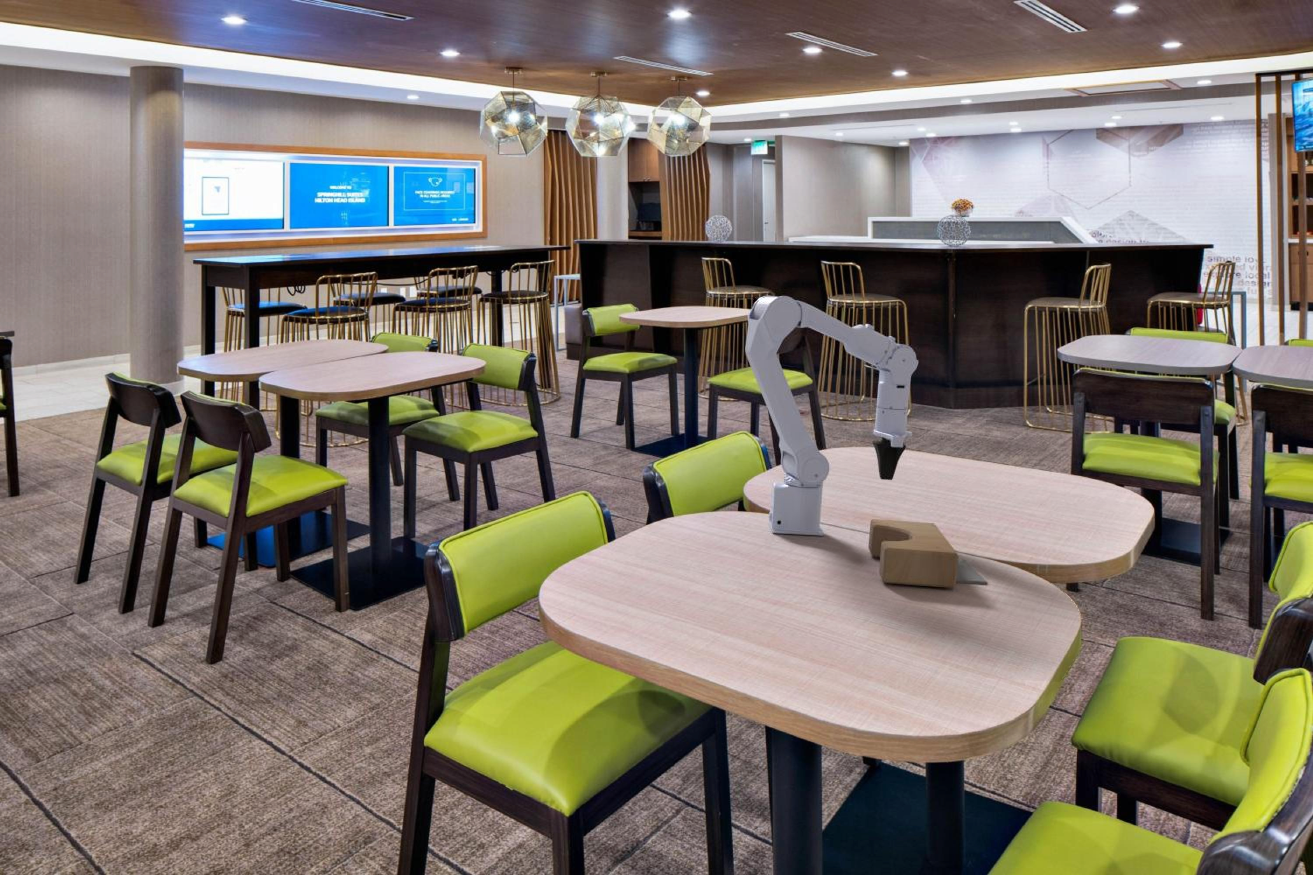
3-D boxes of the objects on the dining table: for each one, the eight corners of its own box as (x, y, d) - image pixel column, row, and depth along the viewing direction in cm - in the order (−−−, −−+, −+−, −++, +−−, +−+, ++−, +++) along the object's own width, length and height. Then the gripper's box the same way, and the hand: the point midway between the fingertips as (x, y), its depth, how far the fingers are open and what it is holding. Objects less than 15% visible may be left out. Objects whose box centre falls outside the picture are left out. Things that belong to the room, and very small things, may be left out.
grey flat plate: (896, 578, 148) (896, 576, 148) (881, 558, 160) (881, 555, 160) (986, 584, 148) (986, 581, 148) (964, 562, 160) (965, 560, 160)
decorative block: (867, 549, 164) (881, 582, 144) (870, 517, 163) (885, 546, 143) (932, 555, 163) (955, 590, 143) (936, 523, 162) (960, 553, 142)
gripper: (922, 413, 169) (916, 487, 171) (905, 404, 184) (899, 473, 186) (883, 411, 170) (877, 485, 172) (868, 402, 184) (863, 471, 186)
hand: (886, 479), depth 179 cm, fingers closed
